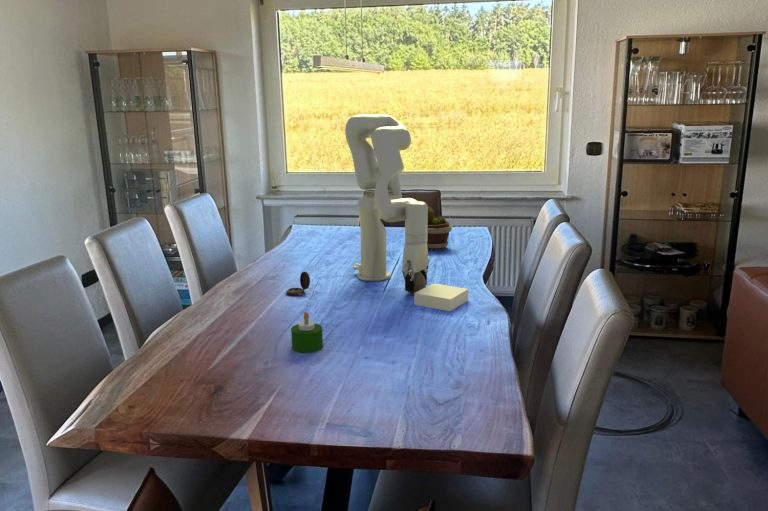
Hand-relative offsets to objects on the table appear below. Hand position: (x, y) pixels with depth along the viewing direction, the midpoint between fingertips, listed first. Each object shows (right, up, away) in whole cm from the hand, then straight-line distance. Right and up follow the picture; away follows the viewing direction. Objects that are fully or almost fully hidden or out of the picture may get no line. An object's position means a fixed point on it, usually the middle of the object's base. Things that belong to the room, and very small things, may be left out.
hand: (416, 287), depth 214 cm
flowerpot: (+12, +14, +67) cm, 70 cm away
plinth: (+8, -4, -9) cm, 13 cm away
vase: (0, -2, +1) cm, 2 cm away
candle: (-32, -14, -45) cm, 57 cm away
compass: (-41, -2, +2) cm, 41 cm away
